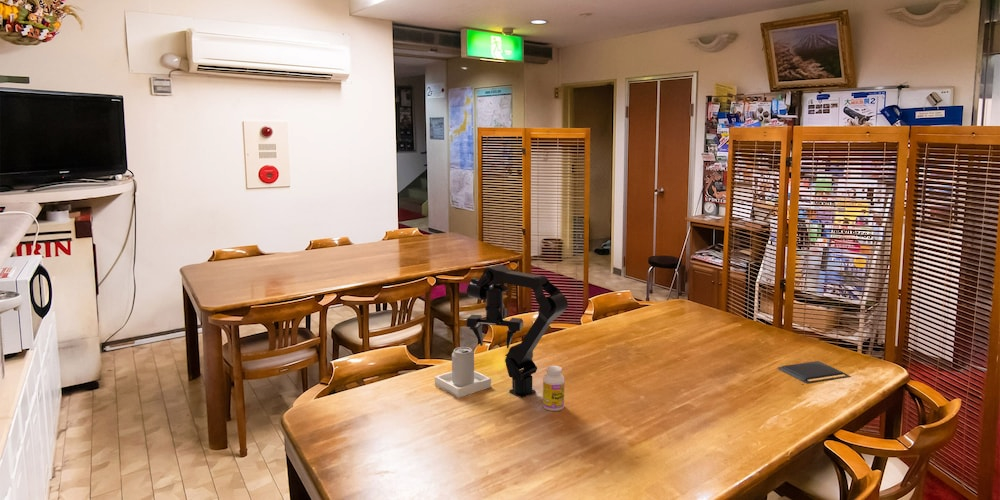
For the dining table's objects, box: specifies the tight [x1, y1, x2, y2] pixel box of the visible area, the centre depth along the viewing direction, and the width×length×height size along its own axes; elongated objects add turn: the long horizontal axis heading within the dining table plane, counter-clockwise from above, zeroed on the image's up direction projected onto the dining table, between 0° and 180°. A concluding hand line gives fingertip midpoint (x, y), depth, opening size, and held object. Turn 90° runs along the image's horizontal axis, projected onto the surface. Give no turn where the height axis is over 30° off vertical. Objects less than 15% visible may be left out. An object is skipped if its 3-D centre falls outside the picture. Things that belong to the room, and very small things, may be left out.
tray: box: [434, 369, 492, 399], centre depth 209 cm, size 14×14×3 cm
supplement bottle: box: [542, 365, 566, 412], centre depth 192 cm, size 7×7×13 cm
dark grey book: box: [777, 360, 852, 385], centre depth 220 cm, size 20×2×15 cm
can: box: [451, 346, 475, 387], centre depth 207 cm, size 8×8×12 cm
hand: (494, 346), depth 209 cm, fingers open, 9 cm apart
